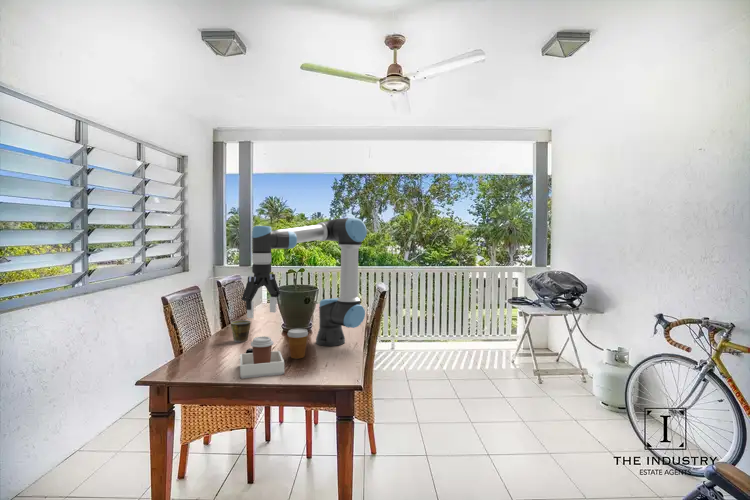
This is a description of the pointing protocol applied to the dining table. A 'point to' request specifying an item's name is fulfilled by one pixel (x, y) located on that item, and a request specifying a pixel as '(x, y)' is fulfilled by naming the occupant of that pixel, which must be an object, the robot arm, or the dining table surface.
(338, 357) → the dining table surface
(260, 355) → the coffee cup
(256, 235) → the robot arm
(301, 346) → the disposable coffee cup
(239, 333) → the ceramic cup
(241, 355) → the box
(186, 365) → the dining table surface
